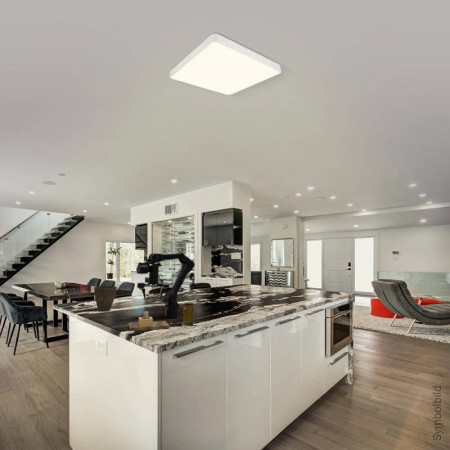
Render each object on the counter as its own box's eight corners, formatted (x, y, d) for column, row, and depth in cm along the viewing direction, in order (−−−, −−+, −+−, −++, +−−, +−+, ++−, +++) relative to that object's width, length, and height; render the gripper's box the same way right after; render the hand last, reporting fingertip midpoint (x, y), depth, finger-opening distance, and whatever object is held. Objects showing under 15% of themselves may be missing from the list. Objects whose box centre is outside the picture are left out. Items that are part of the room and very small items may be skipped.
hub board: (165, 323, 170) (165, 308, 171) (169, 328, 159) (169, 312, 160) (128, 325, 163) (129, 309, 164) (130, 330, 152) (131, 313, 153)
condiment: (182, 323, 173) (183, 302, 175) (196, 323, 174) (197, 302, 176) (181, 325, 166) (182, 304, 168) (196, 326, 167) (197, 304, 168)
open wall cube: (150, 323, 164) (151, 316, 164) (152, 325, 158) (152, 319, 158) (138, 323, 161) (138, 317, 162) (139, 326, 155) (139, 319, 156)
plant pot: (93, 308, 210) (95, 285, 212) (116, 308, 215) (117, 285, 217) (91, 312, 196) (92, 288, 198) (115, 312, 201) (116, 288, 202)
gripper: (166, 272, 194) (165, 297, 192) (136, 272, 187) (135, 298, 185) (169, 274, 183) (168, 299, 182) (138, 274, 177) (137, 300, 175)
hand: (152, 299), depth 181 cm, fingers open, 9 cm apart
